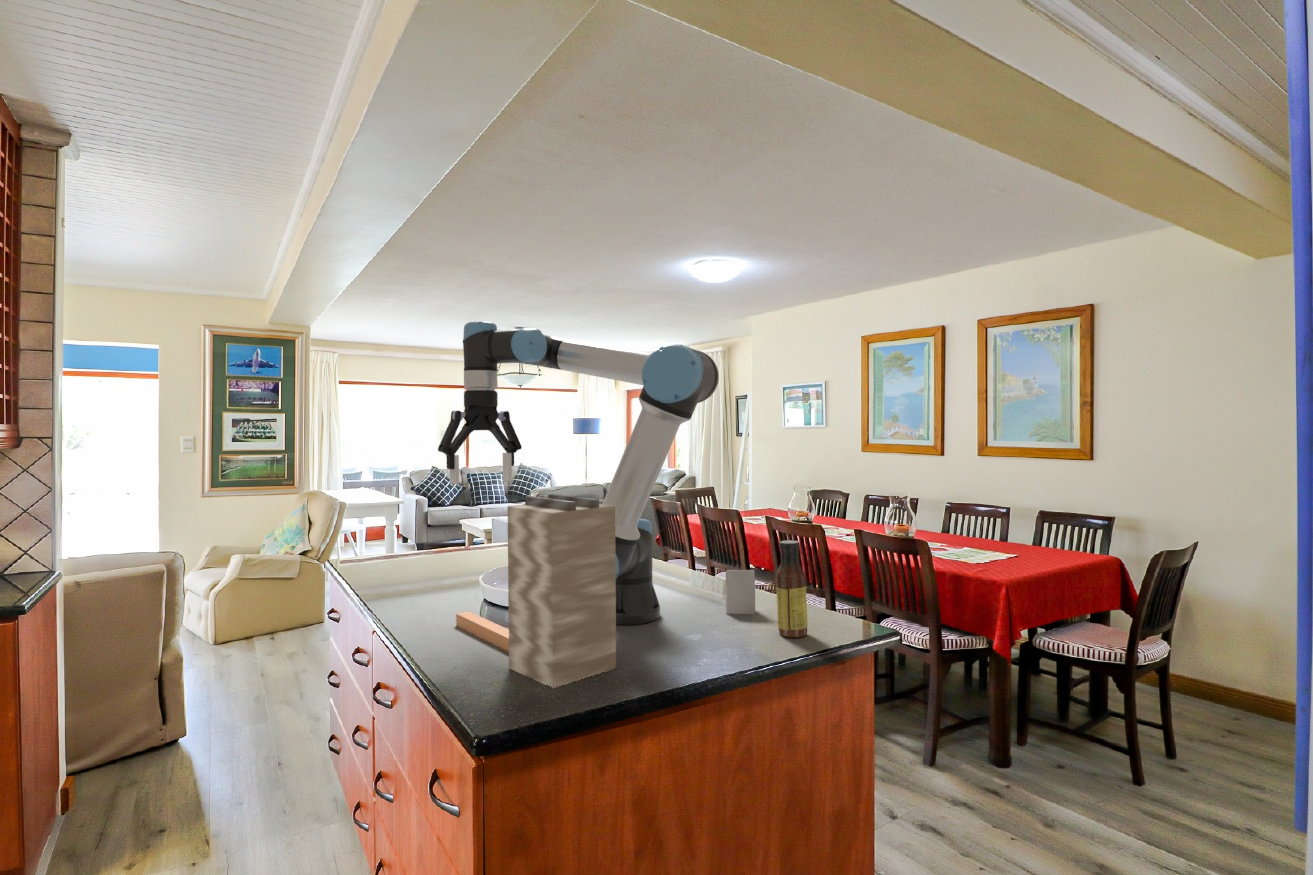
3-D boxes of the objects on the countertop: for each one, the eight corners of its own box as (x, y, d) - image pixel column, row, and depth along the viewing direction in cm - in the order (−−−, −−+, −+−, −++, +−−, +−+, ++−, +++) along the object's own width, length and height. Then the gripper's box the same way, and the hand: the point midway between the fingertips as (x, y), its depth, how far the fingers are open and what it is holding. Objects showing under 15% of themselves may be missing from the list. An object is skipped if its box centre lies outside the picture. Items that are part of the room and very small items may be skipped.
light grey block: (755, 614, 164) (755, 571, 164) (726, 613, 164) (726, 571, 164) (753, 609, 168) (753, 568, 168) (725, 609, 168) (725, 568, 168)
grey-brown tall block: (509, 668, 128) (507, 498, 128) (570, 650, 138) (568, 492, 137) (553, 688, 118) (552, 504, 118) (616, 668, 128) (615, 497, 127)
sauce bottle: (810, 632, 149) (810, 540, 149) (803, 640, 144) (803, 544, 143) (780, 628, 152) (780, 538, 152) (772, 636, 147) (772, 542, 146)
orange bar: (456, 626, 156) (456, 613, 156) (468, 624, 158) (468, 611, 158) (513, 655, 136) (513, 640, 136) (527, 652, 138) (526, 637, 138)
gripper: (518, 392, 171) (518, 478, 172) (421, 389, 154) (422, 484, 155) (535, 391, 166) (536, 479, 167) (437, 387, 149) (438, 486, 149)
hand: (481, 482), depth 161 cm, fingers open, 13 cm apart
